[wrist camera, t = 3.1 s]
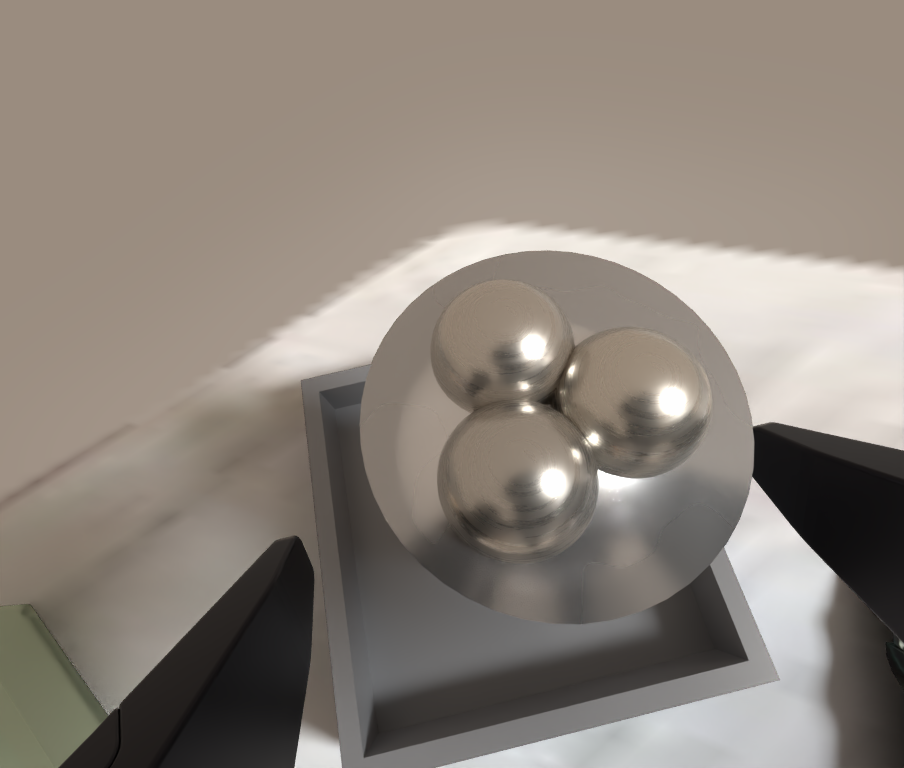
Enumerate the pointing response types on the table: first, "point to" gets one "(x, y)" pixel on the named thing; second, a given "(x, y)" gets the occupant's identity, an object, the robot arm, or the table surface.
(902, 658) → the decorative rock
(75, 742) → the tray
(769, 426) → the robot arm
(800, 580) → the table surface
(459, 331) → the pebble canister
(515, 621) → the tray
